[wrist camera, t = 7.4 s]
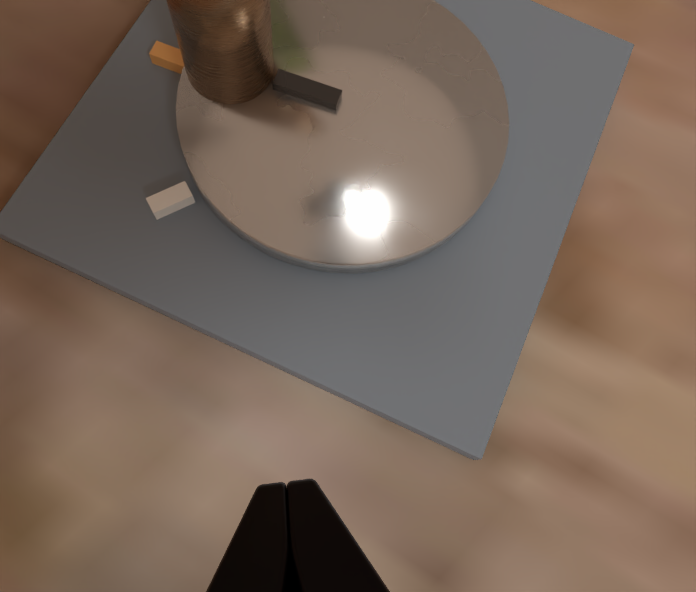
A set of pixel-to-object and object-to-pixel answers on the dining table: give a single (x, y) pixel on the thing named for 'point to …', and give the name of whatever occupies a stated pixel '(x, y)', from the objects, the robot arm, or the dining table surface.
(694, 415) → the dining table surface
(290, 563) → the robot arm
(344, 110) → the dial
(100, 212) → the dial board
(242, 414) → the dining table surface
